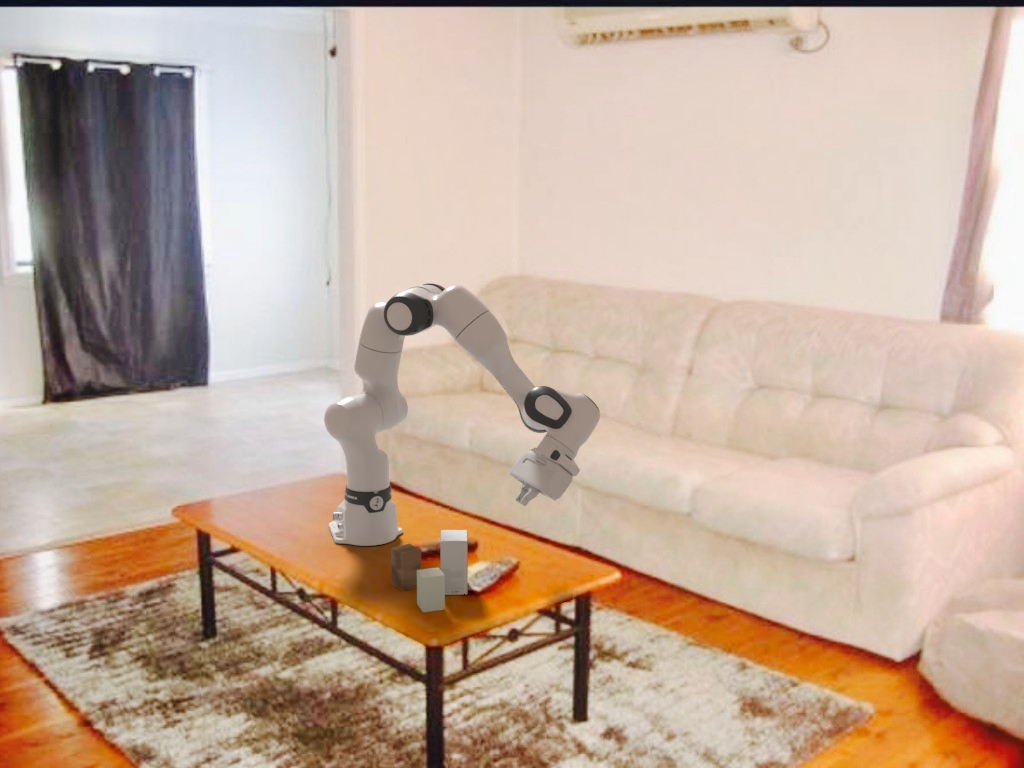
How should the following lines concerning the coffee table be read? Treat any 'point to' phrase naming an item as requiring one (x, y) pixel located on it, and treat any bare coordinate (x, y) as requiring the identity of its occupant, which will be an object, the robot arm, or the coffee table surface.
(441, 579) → the sage block
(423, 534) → the coffee table surface
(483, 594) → the coffee table surface
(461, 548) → the small box
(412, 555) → the walnut block
